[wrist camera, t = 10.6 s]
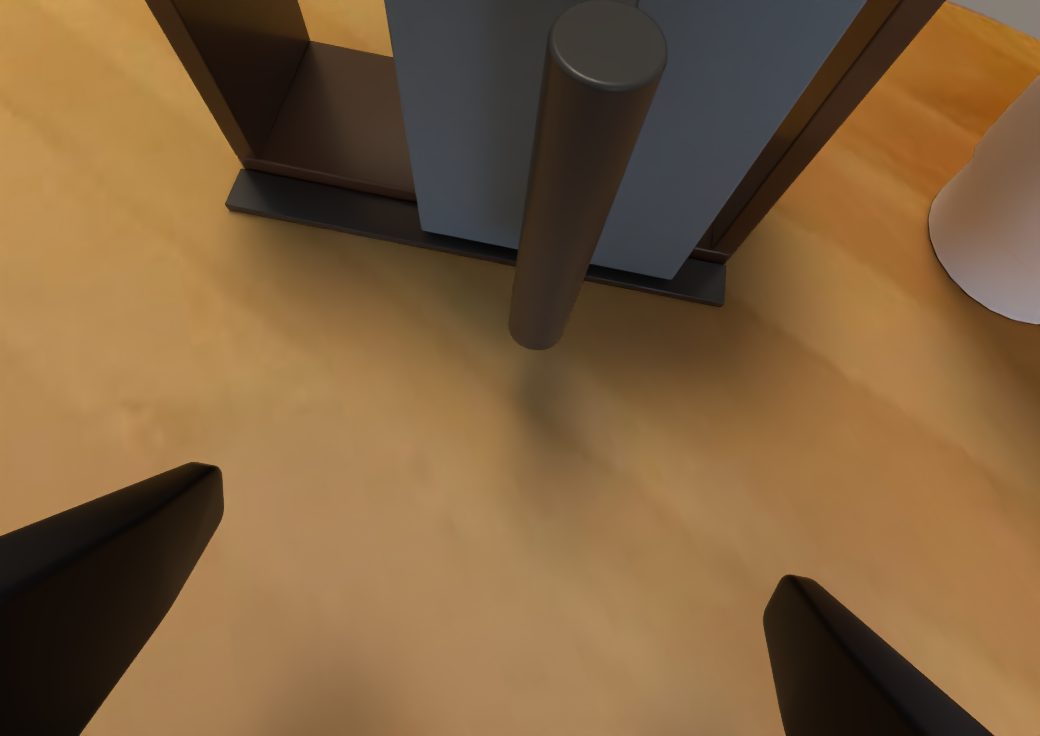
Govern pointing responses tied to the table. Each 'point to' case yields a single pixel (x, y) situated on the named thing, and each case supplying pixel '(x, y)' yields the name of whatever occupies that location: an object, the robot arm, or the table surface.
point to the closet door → (594, 125)
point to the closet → (383, 144)
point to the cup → (996, 215)
